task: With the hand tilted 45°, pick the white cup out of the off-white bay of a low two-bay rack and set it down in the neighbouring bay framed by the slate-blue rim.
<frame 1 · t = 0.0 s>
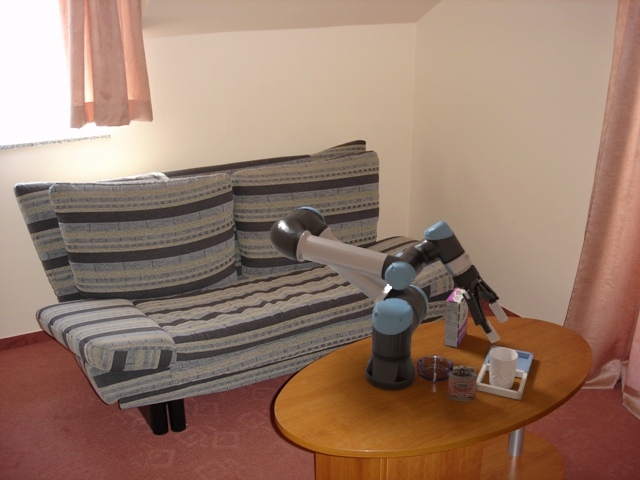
hand: (500, 331, 189), 15 cm above the table, tool tilted 35°, fingers open, 13 cm apart
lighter: (461, 397, 184), on the table
white cup: (501, 384, 191), resting in bay rack
candy bar box: (455, 340, 216), on the table
bay rack: (504, 373, 196), on the table
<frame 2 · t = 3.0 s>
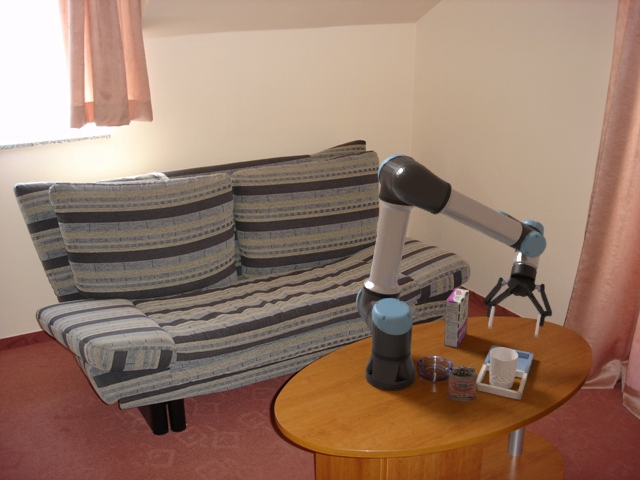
hand: (512, 331, 194), 13 cm above the table, tool tilted 45°, fingers open, 13 cm apart
nothing on the table moved.
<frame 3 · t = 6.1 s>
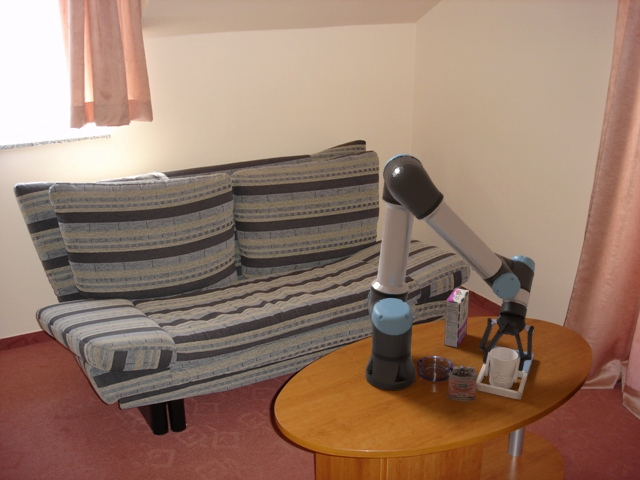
hand: (500, 377, 186), 4 cm above the table, tool tilted 45°, fingers closed on white cup, 8 cm apart
white cup: (501, 384, 191), resting in bay rack, touching gripper
everything else where it was.
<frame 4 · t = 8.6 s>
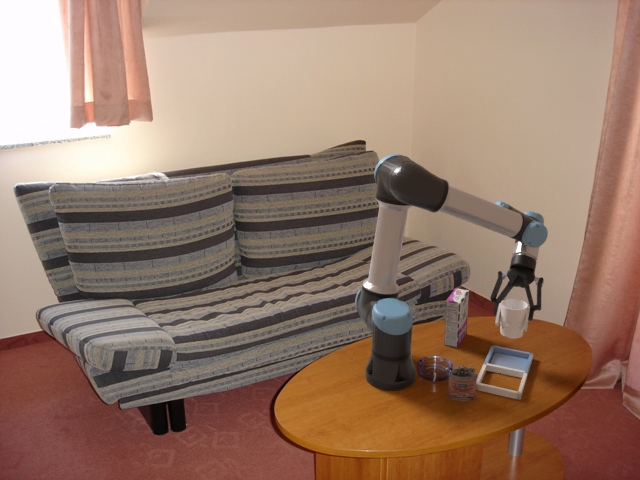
hand: (510, 327, 193), 15 cm above the table, tool tilted 45°, fingers closed on white cup, 8 cm apart
white cup: (511, 334, 197), point 11 cm above the table, touching gripper
everything else where it was.
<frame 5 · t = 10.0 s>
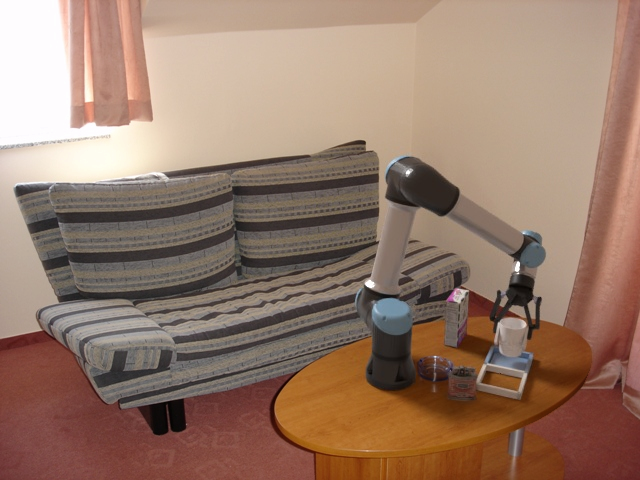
hand: (509, 346, 195), 8 cm above the table, tool tilted 45°, fingers closed on white cup, 8 cm apart
white cup: (510, 352, 200), point 4 cm above the table, touching gripper
everything else where it was.
when the fingers open (5 cm above the table, at t = 11.1 s): white cup drops 1 cm, resting on bay rack.
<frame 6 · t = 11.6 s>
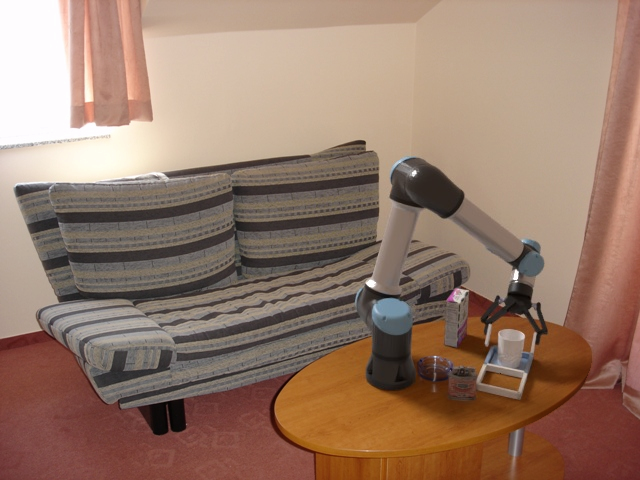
hand: (508, 349, 197), 6 cm above the table, tool tilted 45°, fingers open, 13 cm apart
white cup: (508, 364, 201), resting on bay rack
everything else where it was.
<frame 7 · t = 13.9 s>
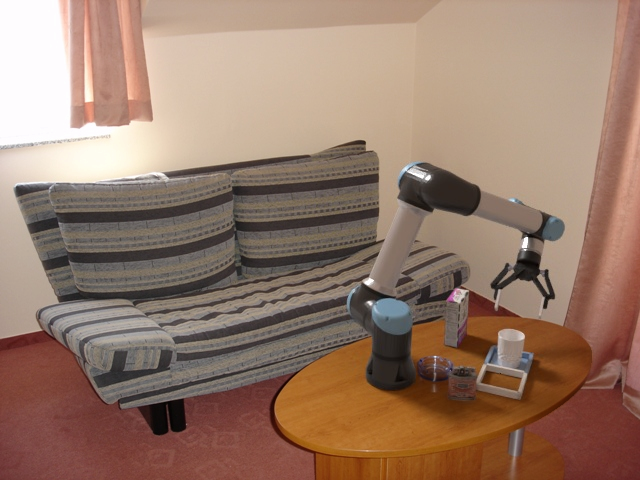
hand: (517, 313, 206), 13 cm above the table, tool tilted 45°, fingers open, 13 cm apart
nothing on the table moved.
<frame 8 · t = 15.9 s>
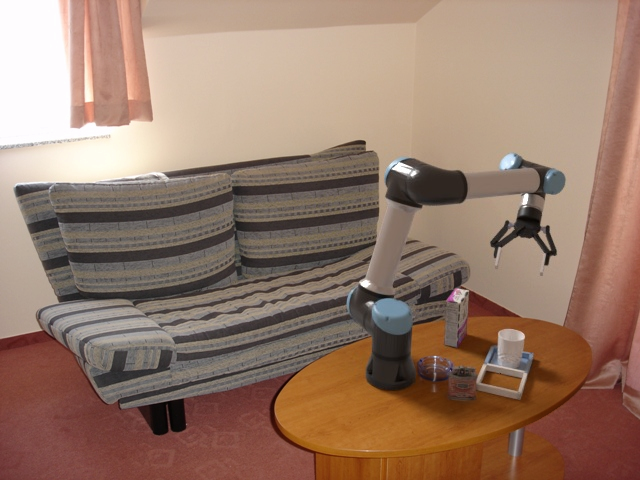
hand: (518, 270, 200), 28 cm above the table, tool tilted 45°, fingers open, 13 cm apart
nothing on the table moved.
at the end: white cup 0.1 cm from the target spot on the bay rack, point 0.1 cm above the bay rack's base; white cup tilted 0°; the gripper is holding nothing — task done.
